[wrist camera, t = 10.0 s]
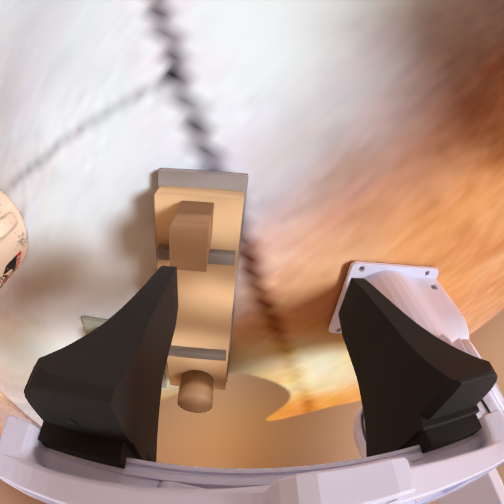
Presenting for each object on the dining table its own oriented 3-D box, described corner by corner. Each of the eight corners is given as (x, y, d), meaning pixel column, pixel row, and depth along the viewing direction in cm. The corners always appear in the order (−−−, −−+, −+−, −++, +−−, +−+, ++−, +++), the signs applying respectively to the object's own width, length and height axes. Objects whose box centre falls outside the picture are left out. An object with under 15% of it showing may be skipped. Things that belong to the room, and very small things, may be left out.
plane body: (160, 168, 20) (130, 203, 14) (247, 173, 20) (250, 212, 15) (172, 371, 31) (164, 421, 25) (227, 376, 32) (225, 427, 26)
